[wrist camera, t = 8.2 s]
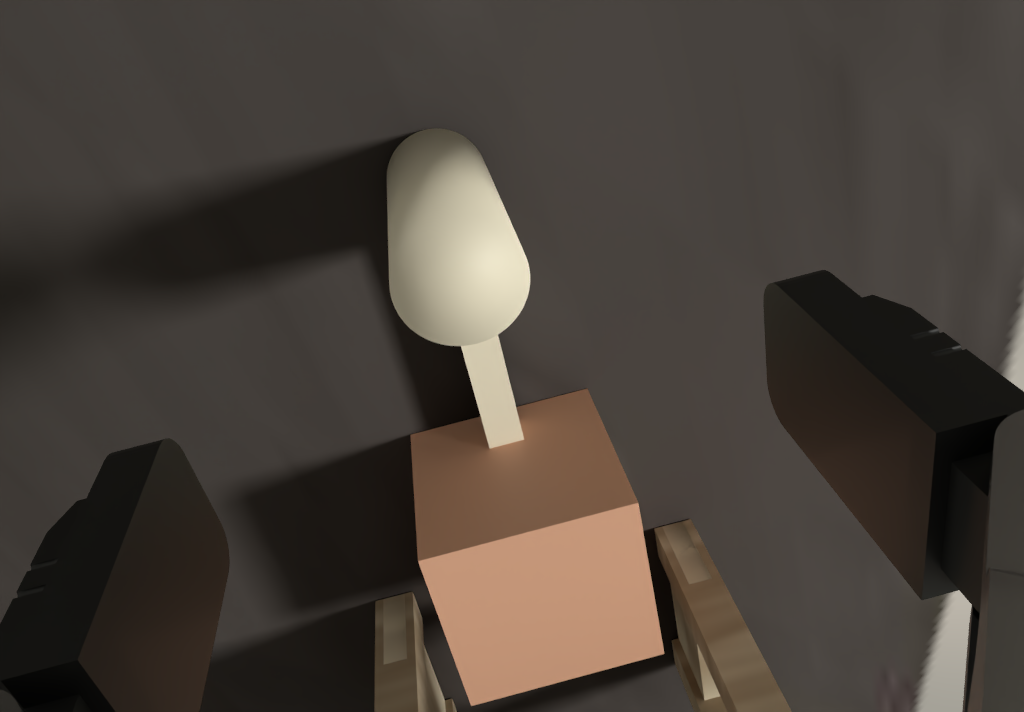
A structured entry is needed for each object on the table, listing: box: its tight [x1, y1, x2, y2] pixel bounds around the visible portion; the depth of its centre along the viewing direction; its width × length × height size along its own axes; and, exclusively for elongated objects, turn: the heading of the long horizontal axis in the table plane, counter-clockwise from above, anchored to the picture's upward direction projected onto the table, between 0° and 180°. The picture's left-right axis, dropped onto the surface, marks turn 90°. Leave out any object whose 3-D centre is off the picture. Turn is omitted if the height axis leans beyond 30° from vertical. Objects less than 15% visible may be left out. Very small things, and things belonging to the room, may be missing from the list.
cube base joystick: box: [387, 128, 664, 706], centre depth 22 cm, size 15×6×8 cm, turn 12°
